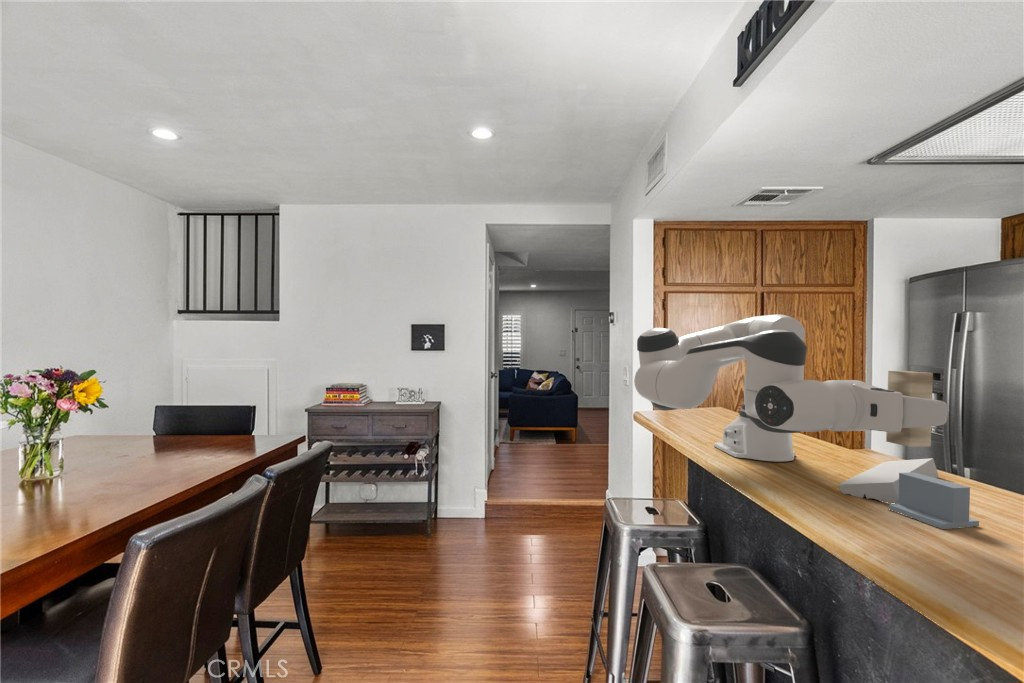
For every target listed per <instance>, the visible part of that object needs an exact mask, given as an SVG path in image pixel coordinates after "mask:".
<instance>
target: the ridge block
mask: <svg viewBox="0 0 1024 683" xmlns="http://www.w3.org/2000/svg"><path fill="white" fill-rule="evenodd" d="M970 497H971V487H969V486H966V485H963V484H959V483H956V482H955V483H954V482H950V481H948V480H945V479H944V480H943V479H940V478H933V477H930V476H926V475H922V474H918V473H915V472H910V473H899V498H898V504H888V510H889V509H890V510H893V511H896V512H899V513H902V514H904V515H907V516H909V517H908V518H910V517H912V518H915V519H917V520H916V521H918V520H919V522H921V521H922V522H921V523H923V522H925V523H924V524H926V523H927V524H926V525H929V524H930V526H932V525H933V526H932V527H935V528H937V527H938V529H940V528H941V529H940V530H950V529H949V528H954V529H960V528H959V527H967V528H974V527H973V526H979V527H980V521H979V519H978V520H977V519H976V518H972V517H970V502H971V501H970V499H971V498H970ZM890 510H889V511H890ZM893 511H892V512H893ZM896 512H895V513H896ZM899 513H898V514H899ZM904 515H903V516H904ZM907 516H906V517H907ZM912 518H911V519H912ZM915 519H914V520H915Z"/></svg>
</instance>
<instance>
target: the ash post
mask: <svg viewBox="0 0 1024 683" xmlns="http://www.w3.org/2000/svg"><path fill="white" fill-rule="evenodd" d="M887 372H888V373H887V390H891V391H895V392H900V393H902V395H904V396H910V397H917V398H925V399H932V400H933V384H934V382H933V381H934V372H926V371H916V370H915V371H913V370H911V371H910V370H887ZM885 442H887V443H890V444H891V443H892V444H896V445H901V446H905V447H909V448H913V447H915V448H916V447H918V448H919V447H920V448H921V447H931V445H932V426H930V427H920V428H902V429H901V431H900V432H886V438H885Z"/></svg>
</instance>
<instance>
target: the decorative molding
mask: <svg viewBox="0 0 1024 683" xmlns="http://www.w3.org/2000/svg"><path fill="white" fill-rule="evenodd" d="M934 459H935V458H933V457H931V458H930V457H929V458H920V459H919V458H917V459H916V458H915V459H904V460H903V459H900V460H890V461H889V460H887V461H884V462H883V461H882V462H881V463H879V464H877V465H875V466H873V467H871V468H869V469H867V470H865V471H863V472H861V473H858V474H857V475H855V476H852V477H851V478H848V479H846V480H844V481H842V482H840V483H838V484H837V487H838V488H839V490H840V492H841V494H842V493H843V494H842V495H851V497H852V496H853V497H857V498H860V499H862V498H865V497H866V499H867V500H868V499H874V500H878V501H880V502H881V501H883V502H888V503H895V504H898V498H899V473H910V472H915V473H918V474H922V475H926V476H930V477H933V478H937V479H939V472H938V469H937V466H936V463H935V460H934ZM883 502H882V503H883ZM888 503H887V504H888Z"/></svg>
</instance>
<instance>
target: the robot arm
mask: <svg viewBox="0 0 1024 683" xmlns="http://www.w3.org/2000/svg"><path fill="white" fill-rule="evenodd" d="M805 330H806V329H805V328H804V326H803V324H802V323H801V321H799V320H798V319H796V318H794V317H791V316H789V315H785V314H783V313H782V314H780V313H779V314H777V313H776V314H766V315H756V316H755V315H754V316H751V317H747V318H743V319H740V320H736V321H734V322H729V323H727V324H724V325H721V326H720V325H719V326H717V327H712V328H709V329H703V330H699V331H696V332H693V333H689V334H685V335H682V336H677V334H676V332H674V331H673V330H672V329H670V328H668V327H667V328H664V327H653V328H650V329H648V330H646V331H644V332H643V333H641V334H640V335H639V336H638V338H637V339H636V341H637V342H636V350H637V351H638V357H639V358H638V359H639V366H640V367H639V368H638V369H637V371H636V372H635V375H634V383H633V384H634V387H635V390H636V391H637V393H638V394H639V395H640V396H641V397H642V398H643V399H645V400H647V401H649V402H650V403H651V405H652V406H653V407H654V408H655V409H657V410H658V411H675V410H692V409H695V408H696V407H697V408H698V407H699V406H700V405H702V404H703V403H704V402H705V401H706V400H707V399H708V397H709V396H710V394H711V392H712V391H713V388H714V385H715V380H716V378H717V375H718V373H719V370H720V369H721V368H723V367H727V366H731V365H734V364H736V363H739V362H741V361H744V360H745V362H746V373H745V375H744V385H743V386H744V387H743V388H744V389H743V403H742V404H739V405H737V410H739V416H738V417H737V418H735V419H734V420H733V421H731V422H730V423H729V424H727V425H726V426H725V427H724V429H723V433H722V441H716V442H714V444H713V446H714V447H715V448H717V449H718V450H721V451H722V452H723V453H724V452H725V453H726V454H728V455H730V456H731V457H734V458H741V459H748V460H749V459H751V460H755V461H756V460H757V461H764V462H781V463H782V462H790V461H794V460H795V456H796V451H794V446H793V436H792V434H798V433H800V432H805V433H806V432H807V433H808V432H809V433H811V432H813V433H814V432H822V431H825V430H829V431H833V432H861V431H862V432H863V431H864V432H865V431H876V432H877V431H879V432H886V433H887V432H900V431H901V429H902V428H920V427H930V426H931V427H938V426H944V425H945V424H946V423H947V420H948V414H949V413H948V412H949V411H948V404H947V403H946V402H945V401H943V400H939V399H933V398H932V399H925V398H917V397H910V396H904V395H902V393H900V392H895V391H891V390H888V389H885V388H880V387H877V386H875V385H872V384H869V383H867V382H865V381H862V380H859V379H858V380H857V379H830V380H825V381H820V380H816V379H805V377H804V376H805V365H806V361H807V360H806V359H807V353H808V346H807V345H806V343H805V340H806V331H805Z"/></svg>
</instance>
